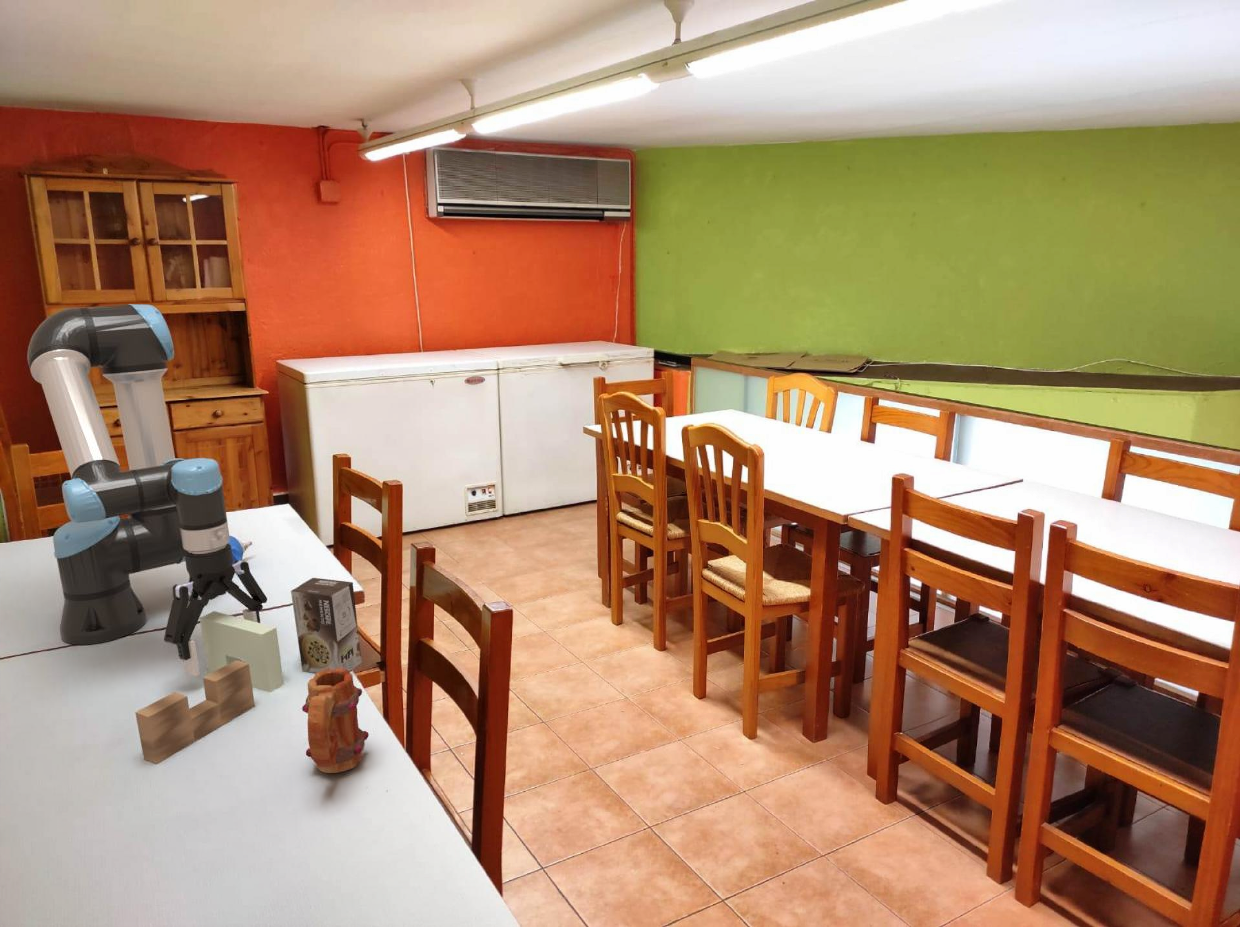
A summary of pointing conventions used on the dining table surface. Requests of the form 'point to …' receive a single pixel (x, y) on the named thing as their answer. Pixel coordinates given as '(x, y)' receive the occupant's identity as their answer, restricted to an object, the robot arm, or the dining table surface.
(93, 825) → the dining table surface
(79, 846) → the dining table surface
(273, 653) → the sage board
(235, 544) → the blue rubber bulb
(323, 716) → the mug
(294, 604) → the coffee box
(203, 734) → the walnut board
